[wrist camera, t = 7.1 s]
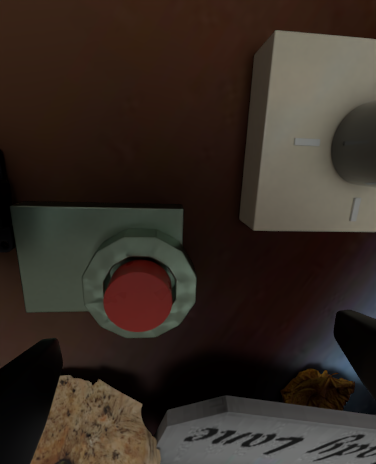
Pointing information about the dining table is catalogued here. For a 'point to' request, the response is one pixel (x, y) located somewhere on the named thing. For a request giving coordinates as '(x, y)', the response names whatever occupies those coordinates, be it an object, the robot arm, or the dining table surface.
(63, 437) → the sandwich
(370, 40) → the panel
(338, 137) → the stove knob
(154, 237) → the button box
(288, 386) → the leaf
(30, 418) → the robot arm
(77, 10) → the dining table surface
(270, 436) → the sign
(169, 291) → the red button
